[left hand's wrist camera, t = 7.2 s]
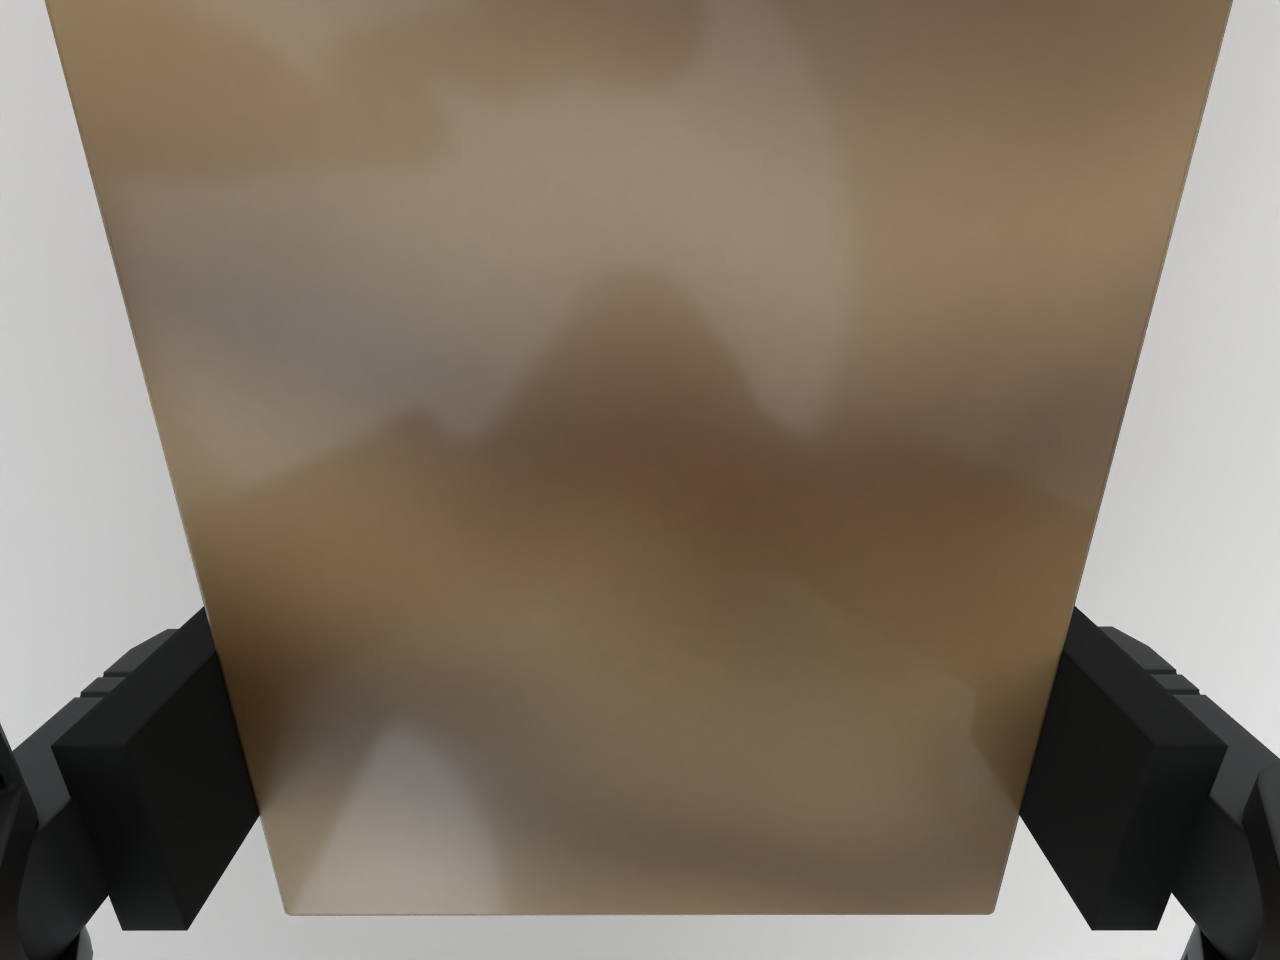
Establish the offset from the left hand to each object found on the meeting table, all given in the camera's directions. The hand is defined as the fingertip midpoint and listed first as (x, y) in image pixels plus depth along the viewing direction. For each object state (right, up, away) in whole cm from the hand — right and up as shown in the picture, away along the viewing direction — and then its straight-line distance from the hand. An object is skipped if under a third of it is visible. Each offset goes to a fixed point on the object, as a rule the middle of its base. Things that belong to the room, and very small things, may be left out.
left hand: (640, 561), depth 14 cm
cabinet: (0, +6, +2) cm, 6 cm away
